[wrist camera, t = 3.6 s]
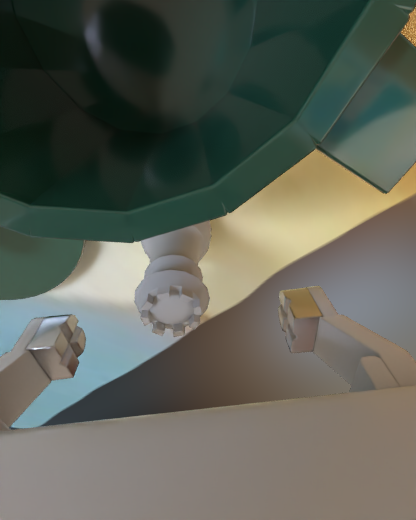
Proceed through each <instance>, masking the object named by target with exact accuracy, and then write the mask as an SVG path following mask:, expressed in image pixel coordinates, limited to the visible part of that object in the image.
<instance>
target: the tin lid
mask: <svg viewBox="0 0 416 520" xmlns="http://www.w3.org/2000/svg"><path fill="white" fill-rule="evenodd" d="M85 243H86V240H72V239H54V238H37V237H31V236H26V235H23V234H21V233H18V232H15V231H12V230H10V229H7V228H4V227H1V226H0V300H15V299H24V298H29V297H33V296H37V295H39V294H42V293H45V292H47V291H49V290H51V289H53V288H55V287H56V286H58V285H59V284H61V283H62V282H63V281H64V280H65V279H66V278H67V277H68V276H69V275H70V274H71V273H72V272H73V270H74V269H75V267H76V266H77V264H78V262H79V260H80V258H81V256H82V254H83V251H84V247H85Z"/></svg>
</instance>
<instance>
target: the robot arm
mask: <svg viewBox="0 0 416 520" xmlns="http://www.w3.org/2000/svg"><path fill="white" fill-rule="evenodd" d="M279 299H280V302H281V305H280V306H279V321H280V325H281V328H282V330H283V331H284V332H286V341H287V344H288V347H289V349H290V352H291V353H300V352H312V351H314V353H315V354H316V355H317V356H318V357H319V358H320V359H321V360H323V361H324V362H325V363H326V364H327V365H328V366H329V367H331V368H332V369H333V370H334V371H335V372H336V373H337V374H339V375H340V376H341V377H342V378H343V379H344V380H345V381H347V382H348V383H349V384H350V385H351V388H350V391H349V393H341V394H332V395H324V396H314V397H305V398H296V399H288V400H278V401H269V402H260V403H251V404H242V405H233V406H224V407H215V408H206V409H197V410H189V411H180V412H170V413H161V414H152V415H143V416H134V417H125V418H116V419H106V420H97V421H88V422H79V423H70V424H61V425H52V426H43V427H34V428H25V429H16V430H11V429H10V428H9V427H10V426H11V425H12V424H13V423H14V422H15V421H16V420H17V418H18V417H19V416H20V415H21V414H22V413H23V412H24V411H25V410H26V409H27V408H28V407H29V405H30V404H31V403H32V402H33V401H34V400H35V399H36V398H37V397H38V396H39V395H40V394H41V392H42V391H43V390H44V389H45V388H46V387H47V386H48V385H49V384H50V383H51V381H52V380H59V379H67V378H73V377H74V375H75V372H76V369H77V367H78V364H79V361H78V359H77V358H78V357H79V356H80V355H81V354H82V353H83V351H84V348H85V343H86V337H85V333H84V331H83V329H82V328H80V327H78V326H77V323H78V320H77V318H76V316H75V315H72V314H71V315H60V316H49V317H41V318H34V319H32V320H31V321H30V322H29V324H28V326H27V327H26V329H25V330H24V332H23V333H22V335H21V336H20V338H19V339H18V341H17V342H16V344H15V345H14V347H13V349H12V350H11V352H6V353H5V354H3V355H2V356H1V357H0V520H416V362H415V360H414V359H413V358H412V356H411V355H410V354H409V353H408V352H407V351H406V350H404V349H403V348H401V347H399V346H397V345H395V344H394V343H392V342H390V341H388V340H386V339H385V338H383V337H381V336H380V335H378V334H376V333H374V332H372V331H371V330H369V329H367V328H365V327H364V326H362V325H360V324H358V323H356V322H354V321H353V320H351V319H349V318H348V317H345V316H344V315H338V313H337V312H336V310H335V309H334V307H333V306H332V304H331V302H330V301H329V299H328V298H327V296H326V294H325V293H324V291H323V290H322V288H321V287H320V286H314V287H306V288H300V289H291V290H283V291H280V294H279Z"/></svg>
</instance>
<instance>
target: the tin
mask: <svg viewBox="0 0 416 520" xmlns="http://www.w3.org/2000/svg"><path fill="white" fill-rule="evenodd" d="M415 7H416V0H0V226H1V227H4V228H7V229H10V230H12V231H15V232H18V233H21V234H23V235H26V236H31V237H37V238H54V239H72V240H89V241H107V242H124V243H133V242H134V241H135V242H138V241H142V240H145V239H148V238H152V237H155V236H159V235H162V234H165V233H169V232H172V231H175V230H179V229H182V228H185V227H189V226H192V225H196V224H199V223H202V222H206V221H209V220H212V219H216V218H219V217H222V216H225V215H227V212H228V213H231V212H233V211H234V210H235V209H237V208H238V207H239V206H241V205H242V204H243V203H245V202H246V201H247V200H249V199H250V198H251V197H253V196H254V195H255V194H257V193H258V192H259V191H261V190H262V189H263V188H265V187H266V186H267V185H269V184H270V183H271V182H273V181H274V180H275V179H277V178H278V177H279V176H281V175H282V174H283V173H285V172H286V171H287V170H289V169H290V168H291V167H293V166H294V165H295V164H297V163H298V162H299V161H301V160H302V159H303V158H304V157H306V156H307V155H308V154H310V153H311V152H312V151H314V150H316V151H318V152H319V153H321V154H322V155H324V156H325V157H327V158H328V159H330V160H331V161H333V162H334V163H336V164H338V165H339V166H341V167H342V168H344V169H345V170H347V171H348V172H350V173H351V174H353V175H354V176H356V177H357V178H359V179H360V180H362V181H363V182H365V183H367V184H368V185H370V186H372V187H373V188H375V189H377V190H378V191H380V192H382V193H385V194H387V193H388V192H389V191H390V190H391V189H392V188H393V187H394V186H395V185H396V184H397V183H398V182H399V180H400V179H401V178H402V177H403V176H404V175H405V174H406V173H407V172H408V170H409V169H410V168H411V167H412V166H413V165H414V164H415V163H416V47H415V46H414V45H413V44H412V43H411V42H410V41H409V40H408V39H407V38H406V37H405V36H404V35H403V34H402V33H401V30H402V29H403V28H404V26H405V25H406V23H407V22H408V20H409V18H410V16H409V14H411V13H412V12H413V10H414V9H415Z"/></svg>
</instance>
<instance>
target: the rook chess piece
mask: <svg viewBox="0 0 416 520" xmlns="http://www.w3.org/2000/svg"><path fill="white" fill-rule="evenodd" d="M210 240H211V225H210V221H206V222H202V223H199V224H196V225H192V226H189V227H185V228H182V229H179V230H175V231H172V232H169V233H165V234H162V235H159V236H155V237H152V238H148V239H145V240H142V241H141V243H142V246H143V248H144V251H145V253H146V254H147V255H148V257H149V258H150V264H149V266H148V267H147V269H146V270H145V275H144V280H142V281H141V283H140V284H139V286H138V287H137V289H136V290H135V304H136V306H137V308H138V310H139V312H140V313H141V317H140V318H141V320H142V322H143V324H144V326H146V325H148V324H151V323H152V324H153V329H152V333H155V334H158V335H160V336H163V334H164V330H165V328H167V329H173V335H174V337H177V336H182V335H185V327H186V326H188V325H189V327H190V328H192V329H193V330H195V328H196V327H197V326H198V325H199V324H200V317H201V315H202V314H203V313H204V312H205V311H206V310H207V307H208V304H209V300H210V297H209V293H208V289H207V287H206V286H205V285H204V284H203V282H202V280H203V276H202V273H201V269H200V268H199V267H198V262H199V261H200V260H201V259H202V257H203V256H204V255H205V254H206V252H207V251H208V249H209V245H210Z"/></svg>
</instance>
